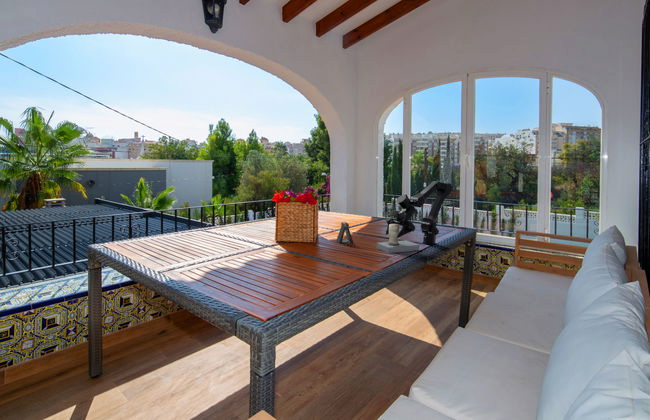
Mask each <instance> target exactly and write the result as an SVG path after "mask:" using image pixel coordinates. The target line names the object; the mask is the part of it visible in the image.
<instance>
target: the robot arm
mask: <svg viewBox="0 0 650 420" xmlns="http://www.w3.org/2000/svg"><path fill="white" fill-rule="evenodd" d="M452 191H453V185H452V184H451V183H450V182H441V181H439V180H438V181H437V180H436V181H435V180H434V181H431V182H430V184H428V186H426V187H425V188H424V189H423V190H422V191H421V192H419V193H417V194H413V195H412V196H411V197H410V198H409V196H408V194H406V193H403V194H402V195H400V196H399V197H397V198H396V203H397V204H398V206H399V207H400V209H402V210H400V211H399V210H395V209H393V210H392V212H391V217H386V219H385V222H386V223H387V224H386V225H387V228H386V230H385V235H387V236H388V235H389V224H399V227H401V230H399V234H398V236H397V237H398V239H399V238H401V237H403V236H404V235H407V234H409V233H412V232H413V233H414V232H415V230H416V225H414V223H413V221H412V217H413V216H414V214H415V215H416V214H417V215H418V214H419V212H418V208H422V207H423V206H424V204H425V203H426V200H427V199H428V198H429V197H430V196H431V195H432V194H433V193H434V192H436V196H435V198H434V201H433V204H432V206H431V208H430V211H429V213H428V214H427V216H426V217H425V216H424V217H423V218H422V219H421V222H420V229H421V233H422V234H423V239H422V241H421V244H424V245H428V246H431V245H432V246H433V245H438V243H437V242H436V238H437V235H439V234H440V233H439V232H440V231H439V229H438V228H437V225H438V224H437V218H438V216H439V213H440V211H441V208H442V206H443V204H444V202H445V199H446V198H447V197H449V196H450V194H451V193H452ZM393 217H394V218H393Z"/></svg>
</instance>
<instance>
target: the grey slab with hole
mask: <svg viewBox="0 0 650 420" xmlns="http://www.w3.org/2000/svg"><path fill="white" fill-rule="evenodd" d="M388 243H389V241H385V242H384V241H382V242H376V249H378V250H381V251H383V252H385V253H387V254H392V253H394V254H395V253H403V252H412V251H414V250H415V251H419V250H420V244H418V243H415V242H412V241H410V240H398V243H399V245H393V246H392V245H389V244H388Z"/></svg>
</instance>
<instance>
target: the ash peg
mask: <svg viewBox="0 0 650 420" xmlns="http://www.w3.org/2000/svg"><path fill="white" fill-rule="evenodd" d="M399 232H400V225H399V224H389V234H388V237H389V239H388V242H389V243H388V244H389V245H392V246H393V245H399V243H398V241H399V238H398V237H397V236H398V234H399Z"/></svg>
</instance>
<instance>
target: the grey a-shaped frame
mask: <svg viewBox="0 0 650 420" xmlns="http://www.w3.org/2000/svg"><path fill="white" fill-rule="evenodd" d="M340 226H341V227H340V229H339V232H338V234H337V238H336V242H337V243H339V244H348V243H349V244H350V243H351V242H353V243H354V240H353V237H352V233H351V231H350V224H349V223H348V222H346V221H342V222H341V223H340ZM345 236H346V239H344V237H345Z"/></svg>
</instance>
